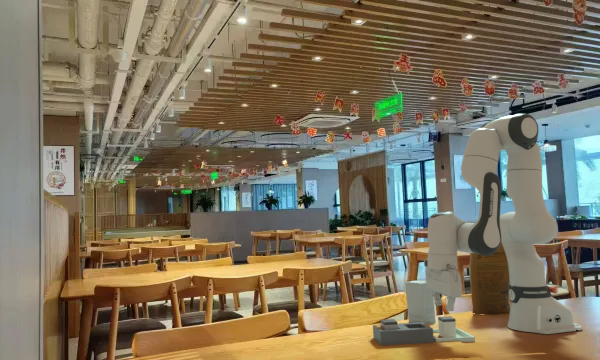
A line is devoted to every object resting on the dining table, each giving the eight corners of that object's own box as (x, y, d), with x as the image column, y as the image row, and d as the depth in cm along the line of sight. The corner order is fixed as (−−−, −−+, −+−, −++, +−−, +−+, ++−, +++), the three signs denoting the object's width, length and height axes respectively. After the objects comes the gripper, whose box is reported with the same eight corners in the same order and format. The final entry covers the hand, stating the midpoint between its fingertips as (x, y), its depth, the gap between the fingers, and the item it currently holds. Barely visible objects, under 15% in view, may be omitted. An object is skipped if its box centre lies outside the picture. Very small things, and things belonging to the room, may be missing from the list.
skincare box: (436, 323, 170) (433, 281, 171) (424, 326, 166) (422, 283, 167) (418, 319, 176) (416, 279, 178) (406, 322, 173) (404, 281, 174)
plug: (451, 335, 150) (450, 316, 150) (456, 338, 146) (455, 318, 146) (439, 336, 149) (438, 316, 150) (444, 339, 145) (442, 319, 146)
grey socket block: (423, 338, 149) (422, 320, 150) (433, 345, 140) (432, 326, 141) (373, 341, 148) (372, 322, 148) (381, 348, 139) (380, 329, 139)
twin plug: (394, 338, 146) (393, 319, 147) (398, 342, 142) (397, 321, 143) (381, 339, 146) (380, 319, 146) (385, 342, 142) (384, 322, 142)
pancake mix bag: (521, 313, 181) (516, 240, 184) (475, 316, 178) (470, 242, 181) (510, 310, 188) (506, 239, 190) (466, 313, 185) (462, 241, 187)
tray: (458, 333, 154) (457, 327, 154) (475, 343, 142) (474, 336, 142) (422, 335, 153) (422, 329, 153) (436, 345, 141) (436, 339, 141)
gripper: (466, 266, 139) (468, 314, 138) (440, 260, 160) (441, 302, 158) (446, 266, 139) (447, 314, 137) (422, 260, 159) (422, 302, 158)
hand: (443, 307), depth 148 cm, fingers open, 8 cm apart
